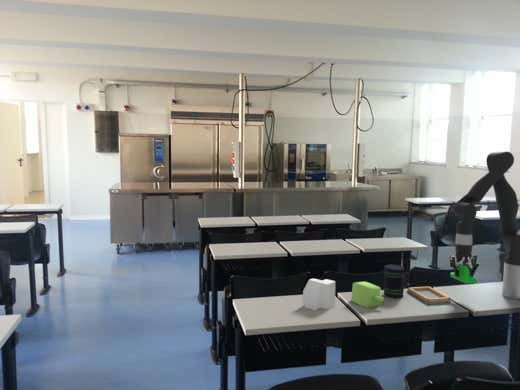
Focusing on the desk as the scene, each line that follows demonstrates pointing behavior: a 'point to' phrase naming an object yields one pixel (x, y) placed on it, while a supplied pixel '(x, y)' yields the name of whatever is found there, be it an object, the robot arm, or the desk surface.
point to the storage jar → (393, 281)
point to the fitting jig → (429, 295)
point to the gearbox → (366, 294)
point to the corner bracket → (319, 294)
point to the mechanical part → (464, 275)
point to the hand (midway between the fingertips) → (462, 275)
